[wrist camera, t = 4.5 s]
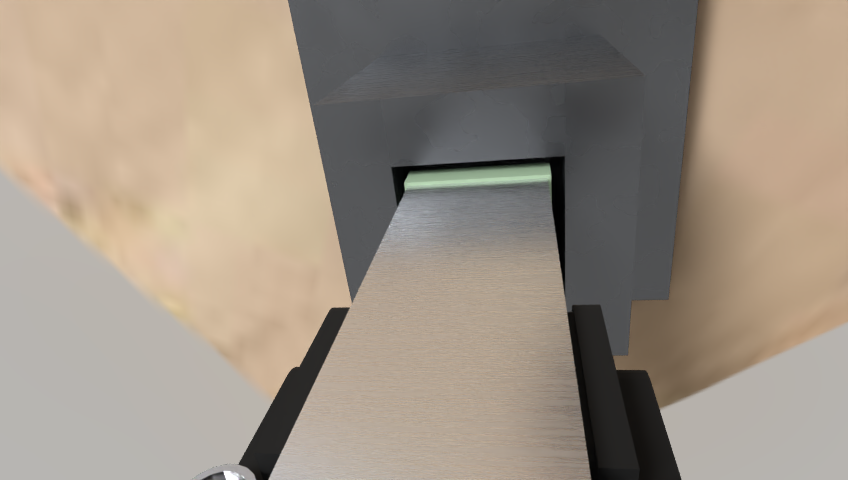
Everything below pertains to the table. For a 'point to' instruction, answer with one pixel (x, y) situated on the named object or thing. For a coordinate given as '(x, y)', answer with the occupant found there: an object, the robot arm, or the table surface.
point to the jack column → (452, 343)
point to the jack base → (511, 121)
